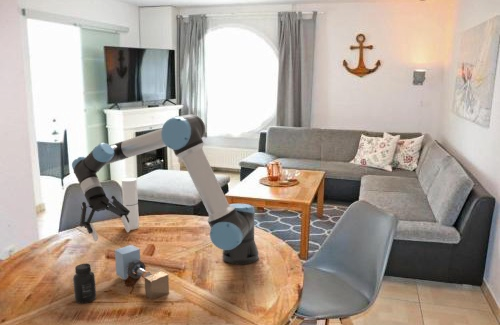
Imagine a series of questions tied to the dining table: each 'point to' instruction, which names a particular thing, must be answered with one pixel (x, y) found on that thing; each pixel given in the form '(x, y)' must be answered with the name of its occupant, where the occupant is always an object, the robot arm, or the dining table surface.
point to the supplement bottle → (84, 284)
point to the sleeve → (125, 259)
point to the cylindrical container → (131, 201)
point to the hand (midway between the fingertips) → (113, 235)
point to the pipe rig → (153, 282)
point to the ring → (133, 267)
